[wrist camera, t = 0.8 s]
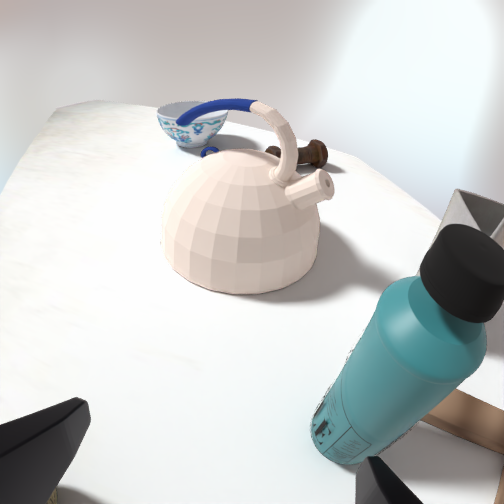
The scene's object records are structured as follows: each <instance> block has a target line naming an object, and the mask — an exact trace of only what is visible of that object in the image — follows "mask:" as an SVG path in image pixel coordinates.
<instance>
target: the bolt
mask: <svg viewBox="0 0 504 504" xmlns="http://www.w3.org/2000/svg"><path fill="white" fill-rule="evenodd" d="M265 152H266V153H269V154H272V155H274V156H276V157H278V158H281V149H280V148H279V147H276V146H269V147H268V148H267V149H266V151H265ZM327 159H328V151H327V148H326V146H325V145H324V143H323V142H321V141H319V140H311V141H310V143H309V144H308V146H306V147H302V148H298V161H297V165H298V164H305V163H308V164H309V163H310V164H312V165H313V166H315V167H316V168H322V167H323V166H324V165H325V164H326V162H327Z"/></svg>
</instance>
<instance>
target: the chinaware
mask: <svg viewBox="0 0 504 504" xmlns="http://www.w3.org/2000/svg"><path fill="white" fill-rule="evenodd" d="M203 103H206V102H205V101H184V102H176V103H171V104H167V105H164V106H161V107H160V108H158V109H157V117H158V120H159V123H160V125H161V127H162V129H163V130H164V132H165V133H166V134H167V135H168V136H170V137H171V138H172V139H174V140H176V143H177V145H179V146H181V147H187V148H195V147H201V146H204V145H205V144H206V143H207V140H208V139H210V138H212V137H213V136H214V135H215V134H217V133H218V131H219V130H220V129H221V128H222V126H223V124H224V122H225V120H226V117H227V114H228V110H220V111H215V112H211V113H208V114H205V115H202V116H200V117H198V118H196V119H195V120H193V121H192V122H191V123H190V124H189V125H186V126H180V125H178V124H176V120H177V119H178V118H179V117H180V116H181V115H182V114H183V113H185V112H187V111H188V110H190V109H191V108H193V107H196V106H198V105H200V104H203Z"/></svg>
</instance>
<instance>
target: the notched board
mask: <svg viewBox="0 0 504 504" xmlns="http://www.w3.org/2000/svg"><path fill="white" fill-rule="evenodd" d="M420 420H422V421H424V422H426V423H429V424H431V425H433V426H435V427H438V428H440V429H442V430H444V431H447V432H449V433H451V434H454V435H456V436H458V437H461V438H463V439H466V440H468V441H470V442H473V443H475V444H478V445H480V446H483V447H485V448H488V449H490V450H493V451H496V452H498V453H501V454H504V411H503V410H501V409H499V408H497V407H495V406H492V405H490V404H488V403H486V402H484V401H481V400H479V399H477V398H475V397H473V396H471V395H469V394H466V393H464V392H462V391H460V390H458V389H454V390H453V391H452V392H451V393H450V394H449V395H448V396H447V397H446V398H445V399H444V400H442V401H441V402H440V403H439V404H438V405H437V406H436V407H435V408H433V409H432V410H431V411H430V412H429V413H428V414H426V415H425V416H424V417H423V418H422V419H420ZM494 504H504V466H503V470H502V475H501V479H500V483H499V487H498V491H497V495H496V498H495V502H494Z"/></svg>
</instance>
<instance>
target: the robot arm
mask: <svg viewBox="0 0 504 504" xmlns="http://www.w3.org/2000/svg"><path fill="white" fill-rule="evenodd" d="M90 422H91V417H90V411H89V406H88V403H87V401H86V400H83V399H81V398H78V397H75V398H72V399H69V400H67V401H64V402H62V403H59V404H56V405H54V406H51V407H48V408H46V409H43V410H40V411H38V412H35V413H32V414H30V415H27V416H24V417H21V418H18V419H16V420H13V421H10V422H7V423H4V424H1V425H0V504H46V503H47V501H48V500H49V498H50V496H51V495H52V493H53V491H54V490H55V488H56V486H57V485H58V483H59V481H60V480H61V478H62V477H63V475H64V473H65V472H66V470H67V468H68V467H69V465H70V464H71V462H72V460H73V459H74V457H75V455H76V453H77V451H78V449H79V446H80V444H81V442H82V440H83V438H84V436H85V433H86V431H87V429H88V427H89V425H90ZM355 504H423V503H422V502H421V501H420V500H419V498H418V497H417V496H416V495H415V494H414V493H413V492H412V491H411V490H410V489H409V488H408V487H407V486H406V485H405V484H404V483H403V482H402V481H401V480H400V479H399V478H398V476H397V475H396V474H395V473H394V472H393V471H392V470H391V469H390V468H389V467H388V466H387V465H386V464H385V463H384V462H383V460H382V459H381V458H380V457H378V456H367V457H365V459H364V460H363V462H362V464H361V466H360V467H359V469H358V471H357V473H356V497H355Z"/></svg>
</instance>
